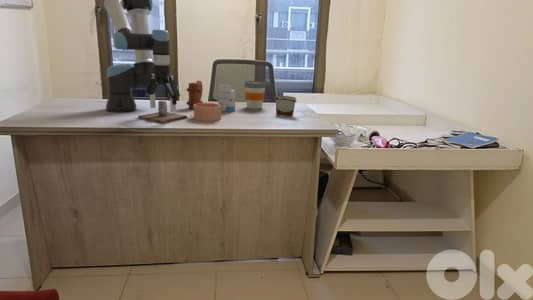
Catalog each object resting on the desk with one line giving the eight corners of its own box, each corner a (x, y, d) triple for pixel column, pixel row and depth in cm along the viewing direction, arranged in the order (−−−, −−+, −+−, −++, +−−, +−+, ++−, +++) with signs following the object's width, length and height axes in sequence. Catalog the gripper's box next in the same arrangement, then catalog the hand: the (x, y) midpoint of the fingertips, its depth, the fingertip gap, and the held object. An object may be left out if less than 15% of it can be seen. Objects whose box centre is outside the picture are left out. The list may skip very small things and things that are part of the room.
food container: (298, 115, 211) (300, 97, 208) (294, 117, 205) (296, 98, 203) (278, 112, 216) (279, 95, 213) (273, 114, 210) (274, 96, 207)
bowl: (188, 119, 189) (188, 105, 187) (205, 115, 200) (205, 102, 198) (208, 123, 183) (208, 108, 181) (225, 119, 193) (225, 105, 191)
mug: (198, 110, 211) (198, 83, 207) (184, 109, 212) (184, 82, 208) (207, 106, 225) (207, 80, 220) (194, 105, 226) (194, 79, 222)
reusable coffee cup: (268, 107, 230) (270, 82, 225) (257, 110, 219) (258, 84, 215) (251, 105, 236) (252, 80, 232) (239, 107, 226) (240, 81, 222)
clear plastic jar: (235, 110, 216) (236, 84, 212) (231, 112, 211) (232, 85, 207) (222, 109, 219) (222, 83, 215) (217, 110, 214) (218, 83, 210)
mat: (134, 119, 183) (133, 118, 183) (163, 113, 199) (163, 112, 198) (162, 125, 174) (162, 124, 174) (191, 119, 189) (191, 118, 189)
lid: (138, 118, 183) (137, 101, 181) (163, 113, 197) (163, 97, 194) (162, 123, 175) (162, 105, 173) (186, 118, 189) (186, 101, 186)
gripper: (136, 62, 182) (138, 107, 188) (175, 66, 170) (176, 114, 175) (148, 62, 188) (150, 105, 194) (187, 66, 176) (187, 111, 182)
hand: (162, 109), depth 185 cm, fingers open, 13 cm apart
